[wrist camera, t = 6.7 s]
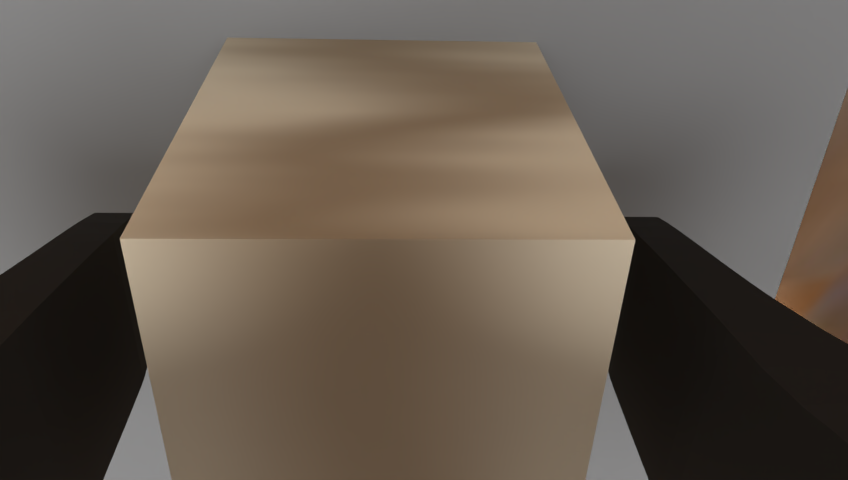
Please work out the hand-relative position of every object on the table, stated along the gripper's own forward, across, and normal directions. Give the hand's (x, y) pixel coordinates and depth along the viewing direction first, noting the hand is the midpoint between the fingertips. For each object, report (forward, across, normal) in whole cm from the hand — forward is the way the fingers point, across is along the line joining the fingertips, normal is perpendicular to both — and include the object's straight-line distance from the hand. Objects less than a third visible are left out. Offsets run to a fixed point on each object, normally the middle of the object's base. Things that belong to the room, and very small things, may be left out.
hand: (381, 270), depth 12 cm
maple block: (+3, 0, 0) cm, 3 cm away
